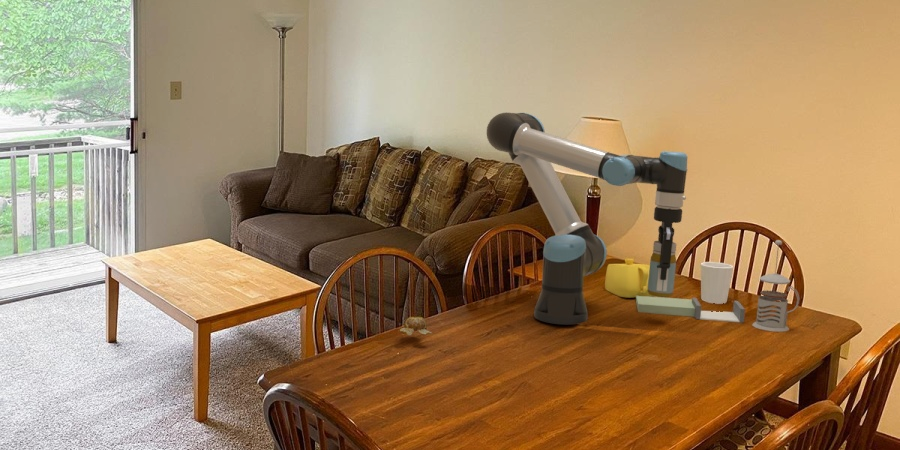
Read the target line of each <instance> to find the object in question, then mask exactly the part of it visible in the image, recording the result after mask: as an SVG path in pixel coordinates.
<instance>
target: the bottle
mask: <svg viewBox="0 0 900 450" xmlns="http://www.w3.org/2000/svg"><path fill="white" fill-rule="evenodd" d="M661 245H662V244H660V242H659V241H658V240H654V241H653V245H652V246H653V249H652V255H651V256H650V262H649V265H650V269H649V279H648V290H647V291H648V293H649V294H650V295H653V296H652V297H664V298H671V296H672V295H674V287H675V279H676V278H675V276H676V269H677V259H676V258H677V257H676V251H677V243H676V242H674V241H673V243H672V250H671V260H670V268H669V272H668V281H667V291H663V286H664V280H663V281H662V291H657V280H658V270H659V268H657V265H660V255H661Z"/></svg>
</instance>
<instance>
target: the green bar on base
mask: <svg viewBox="0 0 900 450" xmlns="http://www.w3.org/2000/svg"><path fill="white" fill-rule="evenodd" d="M635 304H636V309H637V312H638V313H645V314H657V315H668V316H679V317H681V316H682V317H692V318H693V317H694V318H695V320H703V321H705V320H706V321H714V322H715V321H717V322H729V323H743V324H744V323H745V315H746V314H745V313H746V309H745V307H744V306H743V305H742V304H741V303H740V302H739V301H738V300H733V305H732V311H723V312H720V310H718V311H719V312H716V311H717V310H716V311H715V310H702V305H701V303H700V302H699V300H698V298H697V297H691V298H690V299H687V298H675V297H674V298H673V297H657V296H636V297H635ZM711 311H713V312H711Z"/></svg>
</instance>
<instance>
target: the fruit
mask: <svg viewBox="0 0 900 450" xmlns="http://www.w3.org/2000/svg"><path fill="white" fill-rule="evenodd" d="M403 326H404V327H403V328H400V329H399V332H400V333H402V334H404V335H406V336H411V335H412V334H413V333H414V331H415V332H416V331H418V332H419V333H420V334H422V335H429V334H433V332H431V331H429V330H427V321H426V320H425V318H424V317H422V316H409V317H407V318H406V320H405V322H404V325H403Z"/></svg>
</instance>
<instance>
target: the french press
mask: <svg viewBox="0 0 900 450" xmlns="http://www.w3.org/2000/svg"><path fill="white" fill-rule="evenodd" d="M774 245H777V253H776V263H775V271H774V273H769V274H764V275H763V276H760V277H759V280H760V281H761V282H764V283H767V284H773V290H761V291H760V292H759V294H760V296H758V300H757V310H756V319H755V320H756V321H754V322H753V323H752V324H751V325H752V327H754V328H756V329H759V330H762V331H767V332H769V331H770V332H781V333H782V332H788V331H790V328H789V327H788V326H787V322H788V314H789V313H792V312H793V311H794V310H796V309H797V308H798V306H799V304H800V295H799V294H800V293H799V291H798V290H797V289H796V288H794V287H793V286H788V287H787V292H788V293H789V292H790V290H792V291H793V292H794V293H795V295H796V304H795V306H794V308H793V309H790V310H788V302H789V300H788V299H787V298H786V297H788V294H787V293H785V292H782V291H781V292H779V291H775V290H776V289H775V288H776V287H775V286H776V285H788V284H790V282H791V279H789V278H787V277H786V276H784V275H782V274H779V273H777V267H778V266H777V265H778V258H779V245H780V246H781V245H783V241H782V240H779V239H776V240H775V241H774ZM774 306H775V307H774ZM772 315H773V316H772Z"/></svg>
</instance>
